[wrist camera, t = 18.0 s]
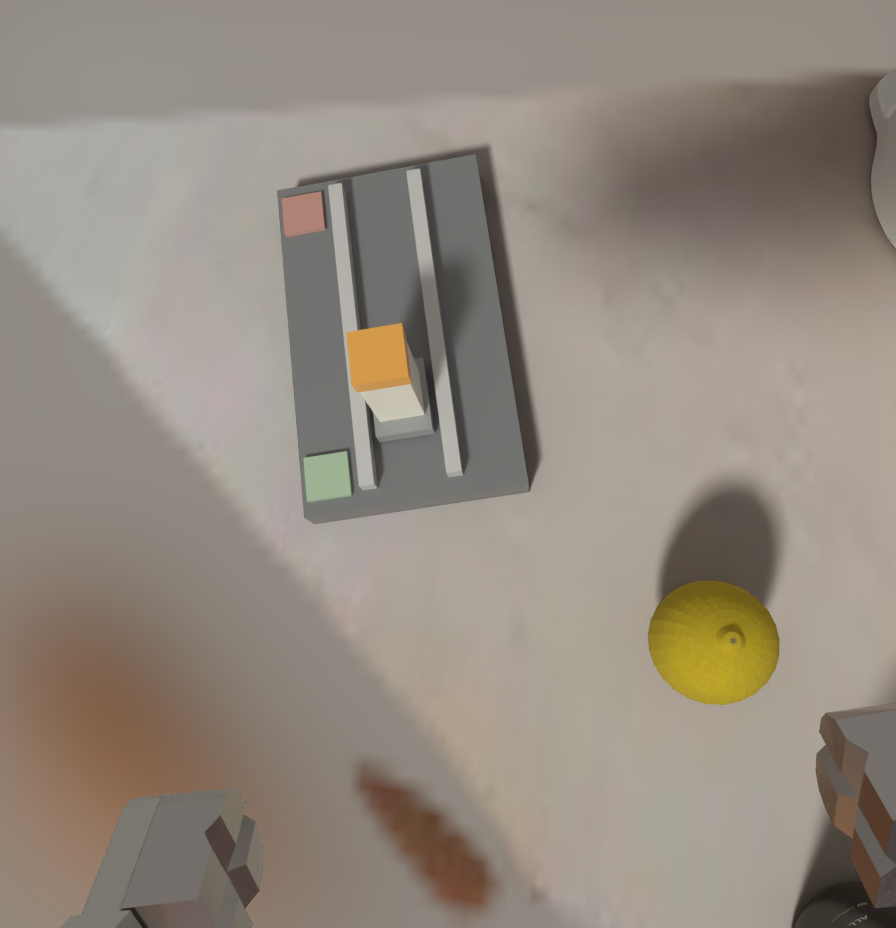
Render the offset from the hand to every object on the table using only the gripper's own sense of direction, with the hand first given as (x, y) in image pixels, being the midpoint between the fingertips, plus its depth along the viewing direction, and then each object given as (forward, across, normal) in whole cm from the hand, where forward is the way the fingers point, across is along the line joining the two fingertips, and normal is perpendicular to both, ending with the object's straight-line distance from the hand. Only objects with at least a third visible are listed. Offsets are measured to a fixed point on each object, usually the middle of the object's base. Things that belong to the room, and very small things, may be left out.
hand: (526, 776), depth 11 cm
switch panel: (+35, +5, +7) cm, 36 cm away
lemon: (+22, -8, +20) cm, 31 cm away
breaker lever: (+30, +5, +8) cm, 32 cm away
